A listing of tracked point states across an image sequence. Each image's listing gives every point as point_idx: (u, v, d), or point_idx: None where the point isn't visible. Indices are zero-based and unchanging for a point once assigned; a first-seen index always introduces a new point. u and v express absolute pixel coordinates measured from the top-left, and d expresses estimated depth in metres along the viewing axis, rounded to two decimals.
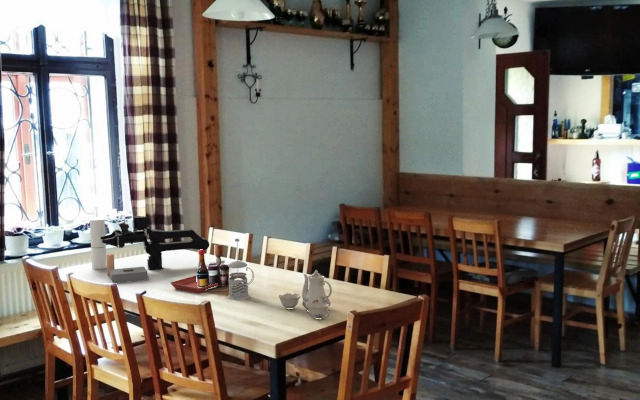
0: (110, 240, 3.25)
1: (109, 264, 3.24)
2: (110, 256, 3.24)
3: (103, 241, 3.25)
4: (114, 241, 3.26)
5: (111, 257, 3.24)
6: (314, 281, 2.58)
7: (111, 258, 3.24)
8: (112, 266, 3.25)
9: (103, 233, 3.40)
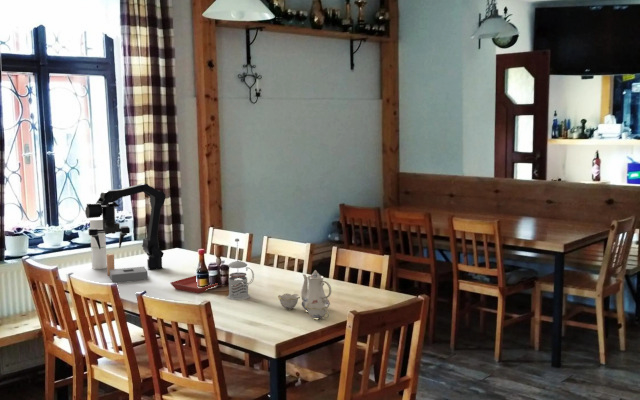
0: None
1: (109, 264, 3.24)
2: (110, 256, 3.24)
3: None
4: None
5: (111, 257, 3.24)
6: (313, 281, 2.58)
7: (111, 258, 3.24)
8: (112, 266, 3.25)
9: (103, 233, 3.40)
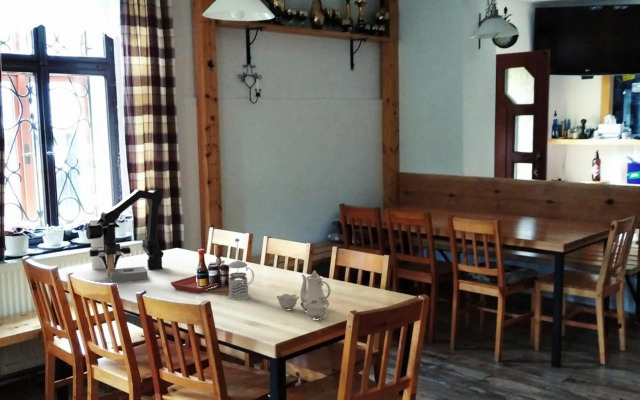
0: None
1: (109, 264, 3.24)
2: (110, 256, 3.24)
3: None
4: None
5: (111, 257, 3.24)
6: (312, 281, 2.57)
7: (111, 258, 3.24)
8: (112, 266, 3.25)
9: None
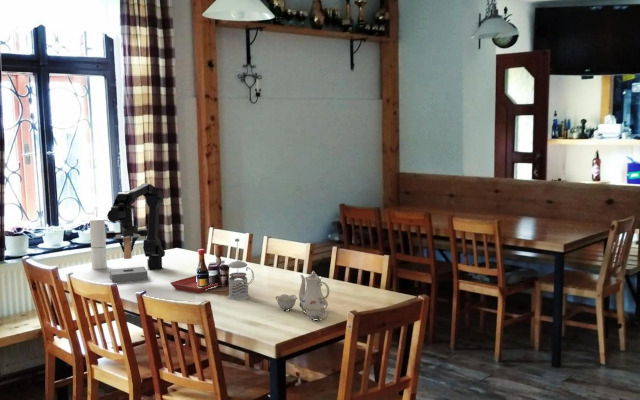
0: None
1: (126, 247, 3.14)
2: (127, 238, 3.14)
3: None
4: None
5: (128, 240, 3.14)
6: (311, 282, 2.57)
7: (128, 241, 3.14)
8: (129, 249, 3.15)
9: (103, 233, 3.40)
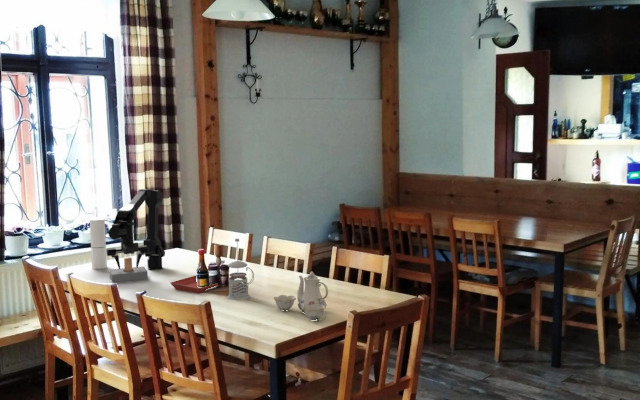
0: None
1: (127, 268, 3.16)
2: (128, 259, 3.15)
3: None
4: None
5: (129, 260, 3.16)
6: (310, 282, 2.56)
7: (129, 262, 3.16)
8: (130, 270, 3.16)
9: (103, 233, 3.40)
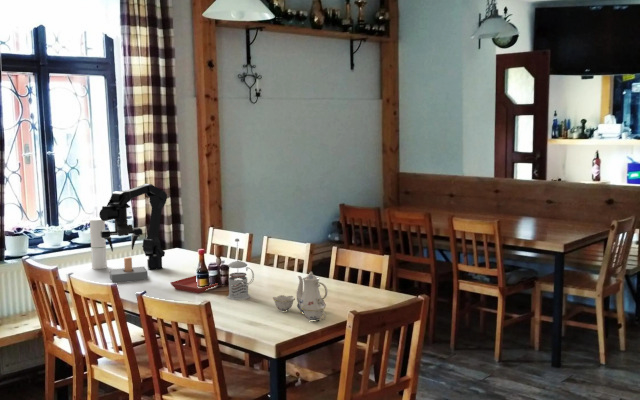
0: None
1: (127, 268, 3.16)
2: (128, 259, 3.15)
3: None
4: None
5: (129, 260, 3.16)
6: (309, 283, 2.55)
7: (129, 262, 3.16)
8: (130, 270, 3.16)
9: None
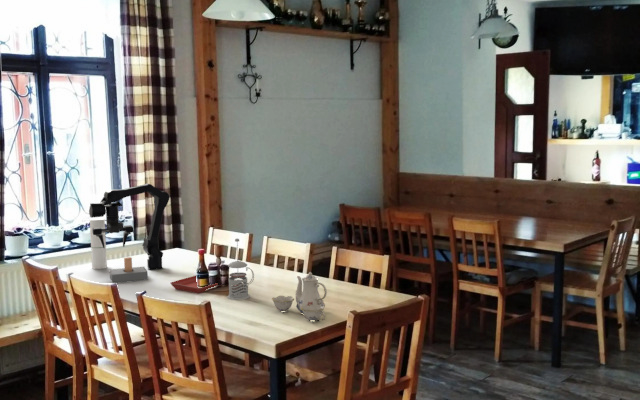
0: None
1: (127, 268, 3.16)
2: (128, 259, 3.15)
3: None
4: None
5: (129, 260, 3.16)
6: (308, 283, 2.55)
7: (129, 262, 3.16)
8: (130, 270, 3.16)
9: (103, 233, 3.40)
